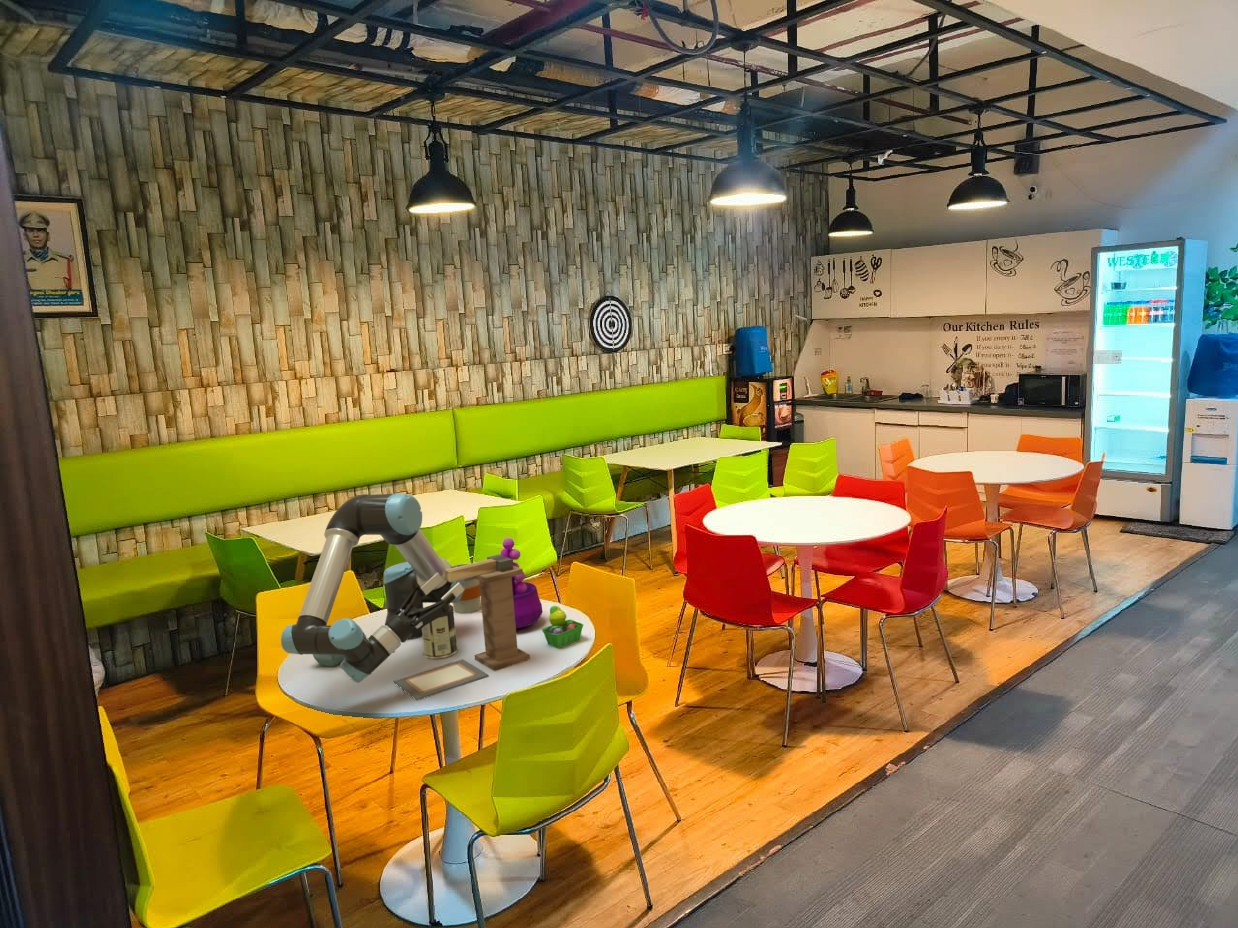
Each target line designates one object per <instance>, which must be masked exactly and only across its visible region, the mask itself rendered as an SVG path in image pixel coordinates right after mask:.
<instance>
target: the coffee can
mask: <svg viewBox="0 0 1238 928" xmlns="http://www.w3.org/2000/svg"><path fill="white" fill-rule="evenodd" d="M428 606H429V605H428ZM428 606H424V607H423V608H422V609H424V608H426V607H428ZM448 607H449V611H448V612H447V613H445V614H444V615H442V616H440V617H439V618H437V619H435V620H434V621H432V622H430V623H429V624H427V625H425V626H424V627H423V628H422V636H421V637H422V643H423V654H424V657H425V658H427V659H431V660H441V659H446V658H449V657H452V656H454V655H456V654H457V653H458V645H457V634H456V624H455V615H454V614H455V610H454V606H453V604H452V605H451V604H449V605H448ZM422 622H423V621H422Z"/></svg>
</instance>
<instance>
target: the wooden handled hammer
mask: <svg viewBox="0 0 1238 928" xmlns="http://www.w3.org/2000/svg"><path fill="white" fill-rule="evenodd" d="M513 562H514V561H513ZM513 562H512V559H510V558H507V557H505V556H502V555H501V554H500V553H499V554H496V555H495V554H494V555H489V556H487V557H486V559H484V560H480V561H476V562H473V563H466V564H467V565H463V566H459V567H455V568H451V569H447V570H445V579H446V581H448V582H454V581H458V580H462V579H466V578H469V577H473V576H477V575H481V574H485V573H489V572H493V571H499V572H504V571H508V570H512V569H513Z"/></svg>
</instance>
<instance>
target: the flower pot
mask: <svg viewBox="0 0 1238 928" xmlns="http://www.w3.org/2000/svg"><path fill="white" fill-rule="evenodd" d="M312 656H313V658H314V660H315V661H316V663H318V664H319V665H320V666H324V667H325V666H327V667H336V666H337V665H338V664H341V662H342V661H343V660H344V659H345V658H344V657H343V656H342V655H321V654H312Z"/></svg>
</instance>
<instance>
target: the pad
mask: <svg viewBox="0 0 1238 928" xmlns="http://www.w3.org/2000/svg"><path fill="white" fill-rule="evenodd" d="M489 676H490V675H489V674H488V673H486V672H485V671H483V670H482V669H480V668H478V667H477V666H475V665H473V664H472V663H470V662H469V661H467V660H465V659H464V658H463V659H459V660H455V661H451V662H449V663H446V664H443V665H440V666H436V667H434V668H430V669H427V670H424V671H421V672H418V673H415V674H414V673H413V674H412V675H408V676H405V677H401V678H399V679H395V680H393V682H394V683H393V682H392V683H393V684H395V685H396V684H397V685H398V686H397V685H396V686H397V687H398V688H400V687H401V688H402V689H401V688H400V689H401V690H402V691H404V690H405V691H406V692H407V693H406V692H405V691H404V692H405V693H406V694H408V693H409V694H410V695H411V697H412V696H413V697H414V698H415V699H414V698H413V697H412V698H413V699H414V700H416V701H419V700H418V699H420V700H422V699H424V697H425V698H428V697H430V696H434V695H437V694H440V693H443V692H446V691H449V690H451V689H452V690H453V689H454V688H455V689H456V688H458V687H461V686H464V685H466V684H470V683H472V682H473V683H474V682H476V681H479V680H482V679H485V678H488V677H489ZM409 694H408V695H409ZM410 695H409V696H410ZM427 696H428V697H427Z"/></svg>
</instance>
